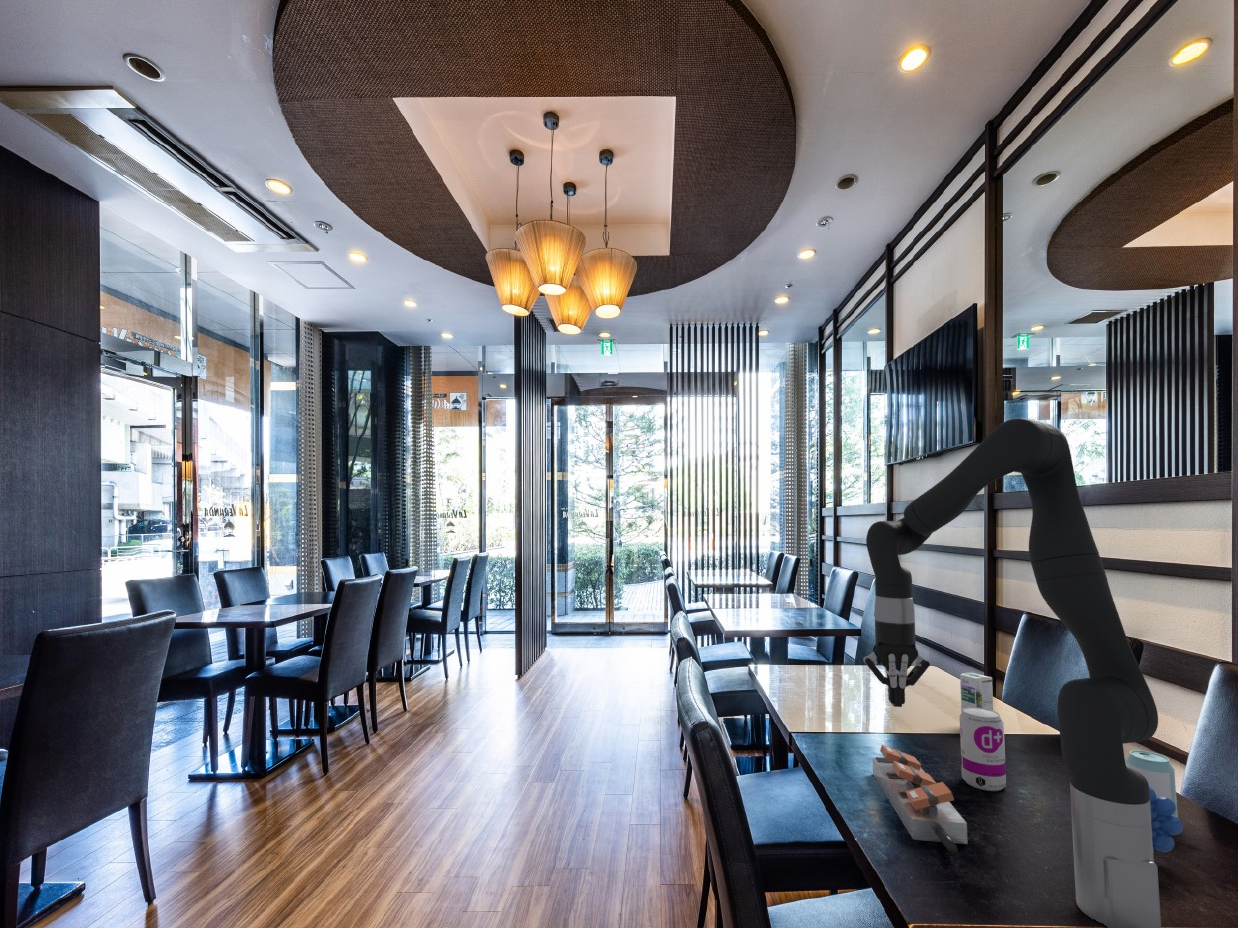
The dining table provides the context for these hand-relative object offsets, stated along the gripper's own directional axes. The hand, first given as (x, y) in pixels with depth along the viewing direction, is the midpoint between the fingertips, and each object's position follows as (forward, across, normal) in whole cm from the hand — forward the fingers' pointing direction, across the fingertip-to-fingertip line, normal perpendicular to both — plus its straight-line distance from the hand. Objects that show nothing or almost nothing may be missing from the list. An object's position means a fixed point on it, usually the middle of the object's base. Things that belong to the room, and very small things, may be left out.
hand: (896, 705), depth 124 cm
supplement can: (+19, +21, +13) cm, 31 cm away
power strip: (+19, +3, -3) cm, 19 cm away
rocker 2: (+13, +3, 0) cm, 14 cm away
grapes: (+19, +35, -13) cm, 42 cm away
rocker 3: (+13, +3, -9) cm, 16 cm away
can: (+19, +46, +1) cm, 50 cm away
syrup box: (+19, +34, +49) cm, 63 cm away
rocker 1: (+13, +3, +9) cm, 16 cm away
